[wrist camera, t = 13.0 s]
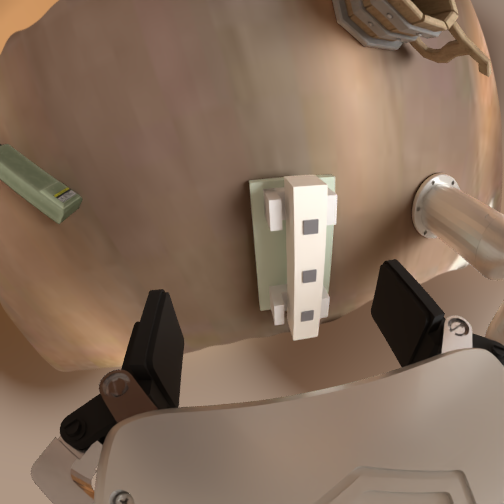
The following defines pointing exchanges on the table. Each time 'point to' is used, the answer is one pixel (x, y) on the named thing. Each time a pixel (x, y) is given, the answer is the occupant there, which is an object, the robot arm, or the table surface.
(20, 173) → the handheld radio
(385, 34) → the tankard
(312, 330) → the power strip
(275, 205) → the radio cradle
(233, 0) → the table surface
